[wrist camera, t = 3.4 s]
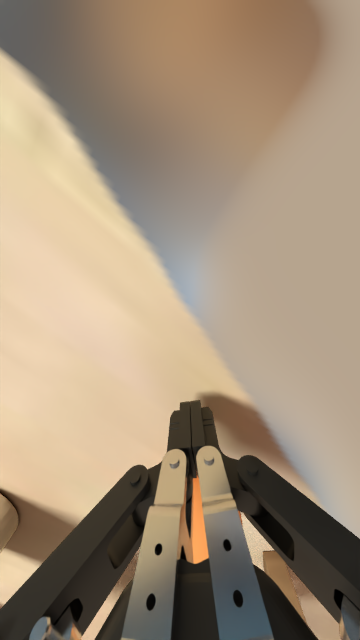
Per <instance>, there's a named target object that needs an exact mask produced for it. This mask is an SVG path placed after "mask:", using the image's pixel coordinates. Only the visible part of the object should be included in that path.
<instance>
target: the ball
mask: <svg viewBox="0 0 360 640" xmlns="http://www.w3.org/2000/svg"><path fill="white" fill-rule="evenodd" d="M238 513H239V517H240V520H241V524H242V519H241V514H240V511H238ZM242 527H243V526H242ZM192 545H193V561H194V564H197V563H199V562H201V561H203V560H205V559H207V558H209V555H208V547H207V540H206V532H205V524H204V517H203V509H202V498H201V491H200V483H199V478H198V475H197V478H193V538H192Z"/></svg>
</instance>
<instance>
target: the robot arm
mask: <svg viewBox="0 0 360 640" xmlns="http://www.w3.org/2000/svg"><path fill="white" fill-rule="evenodd" d="M190 404H191V405H190ZM196 470H197V471H196ZM197 475H198V478H199V483H200V491H201V498H202V509H203V517H204V524H205V532H206V540H207V547H208V555H209V558H207V559H205V560H203V561H201V562H199V563H197V564H194V561H193V545H192V538H193V478H197ZM238 511H241V512H243V513H244V515H245V516H246V518H247V519H248V520H249V521H250V522H251V523H252V525H253V526H254V527H255V528H256V529H257V530H258V531H259V533H260V534H261V535H262V536H263V537H264V538H265V540H266V541H267V542H268V543H269V544H270V545H271V546H272V548H273V549H274V550H275V551H276V552H277V553H278V554H279V556H280V557H281V558H282V559H283V560H284V561H285V562H286V564H287V565H288V566H289V567H290V568H291V569H292V570H293V572H294V573H295V574H296V575H297V576H298V577H299V578H300V580H301V581H302V582H303V583H304V584H305V585H306V587H307V588H308V589H309V590H310V591H311V592H312V593H313V595H314V596H315V597H316V598H317V599H318V600H319V601H320V603H321V604H322V605H323V606H324V607H325V608H326V609H327V611H328V612H329V613H330V614H331V615H332V616H333V617H334V619H335V620H336V621H337V622H338V623H339V631H340V637H341V640H360V539H359V538H358V537H357V536H355V535H354V534H353V533H352V532H350V531H349V530H348V529H346V528H345V527H344V526H343V525H341V524H340V523H339V522H338V521H336V520H335V519H334V518H333V517H331V516H330V515H329V514H328V513H326V512H325V511H324V510H323V509H321V508H320V507H319V506H317V505H316V504H315V503H314V502H312V501H311V500H310V499H309V498H307V497H306V496H305V495H304V494H302V493H301V492H300V491H299V490H297V489H296V488H295V487H293V486H292V485H291V484H290V483H288V482H287V481H286V480H285V479H283V478H282V477H281V476H280V475H278V474H277V473H276V472H275V471H273V470H272V469H271V468H269V467H268V466H267V465H266V464H264V463H263V462H262V461H261V460H259V459H258V458H256V457H254V456H251V455H246V456H243V457H241V458H240V459H239V460H236V459H232V458H229V457H227V456H226V455H224V454H223V453H222V452H221V450H220V448H219V445H218V440H217V435H216V430H215V425H214V420H213V414H212V411H211V410H210V409H209V407H203V408H201V403H200V400H197V401H188V402H180V410H177V411H174V412H173V413H172V415H171V417H170V427H169V437H168V446H167V453H166V454H165V456H164V457H163V460H162V462H160V463H159V464H158V465H156V466H154V467H152V468H150V469H148V470H147V468H146V467H145V466H143V465H136V466H134V467H132V468H131V469H129V470H128V471H127V472H126V474H125V475H124V476H123V477H122V478H121V479H120V480H119V481H118V482H117V483H116V484H115V485H114V487H113V488H112V489H111V490H110V491H109V492H108V493H107V494H106V495H105V496H104V497H103V498H102V500H101V501H100V502H99V503H98V504H97V505H96V506H95V507H94V508H93V509H92V510H91V511H90V513H89V514H88V515H87V516H86V517H85V518H84V519H83V520H82V521H81V522H80V523H79V525H78V526H77V527H76V528H75V529H74V530H73V531H72V532H71V533H70V534H69V535H68V536H67V538H66V539H65V540H64V541H63V542H62V543H61V544H60V545H59V546H58V547H57V548H56V549H55V551H54V552H53V553H52V554H51V555H50V556H49V557H48V558H47V559H46V560H45V561H44V562H43V564H42V565H41V566H40V567H39V568H38V569H37V570H36V571H35V572H34V573H33V574H32V575H31V577H30V578H29V579H28V580H27V581H26V582H25V583H24V584H23V585H22V586H21V587H20V588H19V590H18V591H17V592H16V593H15V594H14V595H13V596H12V597H11V598H10V599H9V600H8V602H7V603H6V604H5V605H4V606H3V607H2V608H1V609H0V640H81V637H82V635H83V634H84V632H85V631H86V629H87V628H88V626H89V625H90V623H91V622H92V620H93V618H94V617H95V615H96V614H97V612H98V611H99V609H100V608H101V606H102V605H103V603H104V601H105V600H106V598H107V597H108V595H109V594H110V592H111V591H112V589H113V588H114V586H115V584H116V583H117V581H118V580H119V578H120V577H121V575H122V574H123V572H124V571H125V569H126V567H127V566H128V564H129V563H130V561H131V560H132V558H133V557H134V555H135V553H136V552H137V550H138V549H139V547H140V546H141V547H140V552H139V557H138V561H137V566H136V571H135V576H134V578H133V579H132V580H131V581H130V583H129V584H128V585H127V586H126V588H125V589H124V591H123V592H122V594H121V595H120V597H119V599H118V600H117V602H116V604H115V605H114V607H113V609H112V611H111V612H110V614H109V616H108V617H107V619H106V621H105V623H104V624H103V626H102V628H101V630H100V631H99V633H98V635H97V636H96V638H95V640H318V639H317V637H316V636H315V635H314V633H313V632H312V631H311V629H310V628H309V627H308V625H307V624H306V623H305V621H304V620H303V619H302V617H301V616H300V615H299V613H298V612H297V610H296V609H295V608H294V606H293V605H292V604H291V602H290V601H289V600H288V598H287V597H286V596H285V594H284V593H283V592H282V590H281V589H280V588H279V586H278V585H277V584H276V583H275V582H274V581H273V580H272V579H271V578H270V577H269V576H268V575H267V574H266V573H265V572H264V571H263V570H261V569H260V568H258V567H257V566H255V565H253V563H252V559H251V556H250V552H249V549H248V545H247V542H246V538H245V535H244V531H243V527H242V524H241V520H240V517H239V513H238ZM17 526H18V515H17V512H16V510H15V508H14V507H13V505H12V504H11V503H10V502H9V501H8V499H7V498H5V497H4V496H3V495H1V494H0V553H1V552H2V550H3V548H4V547H5V545H6V544H7V542H8V541H9V539H10V538H11V536H12V535H13V533H14V532H15V530H16V529H17Z"/></svg>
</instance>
